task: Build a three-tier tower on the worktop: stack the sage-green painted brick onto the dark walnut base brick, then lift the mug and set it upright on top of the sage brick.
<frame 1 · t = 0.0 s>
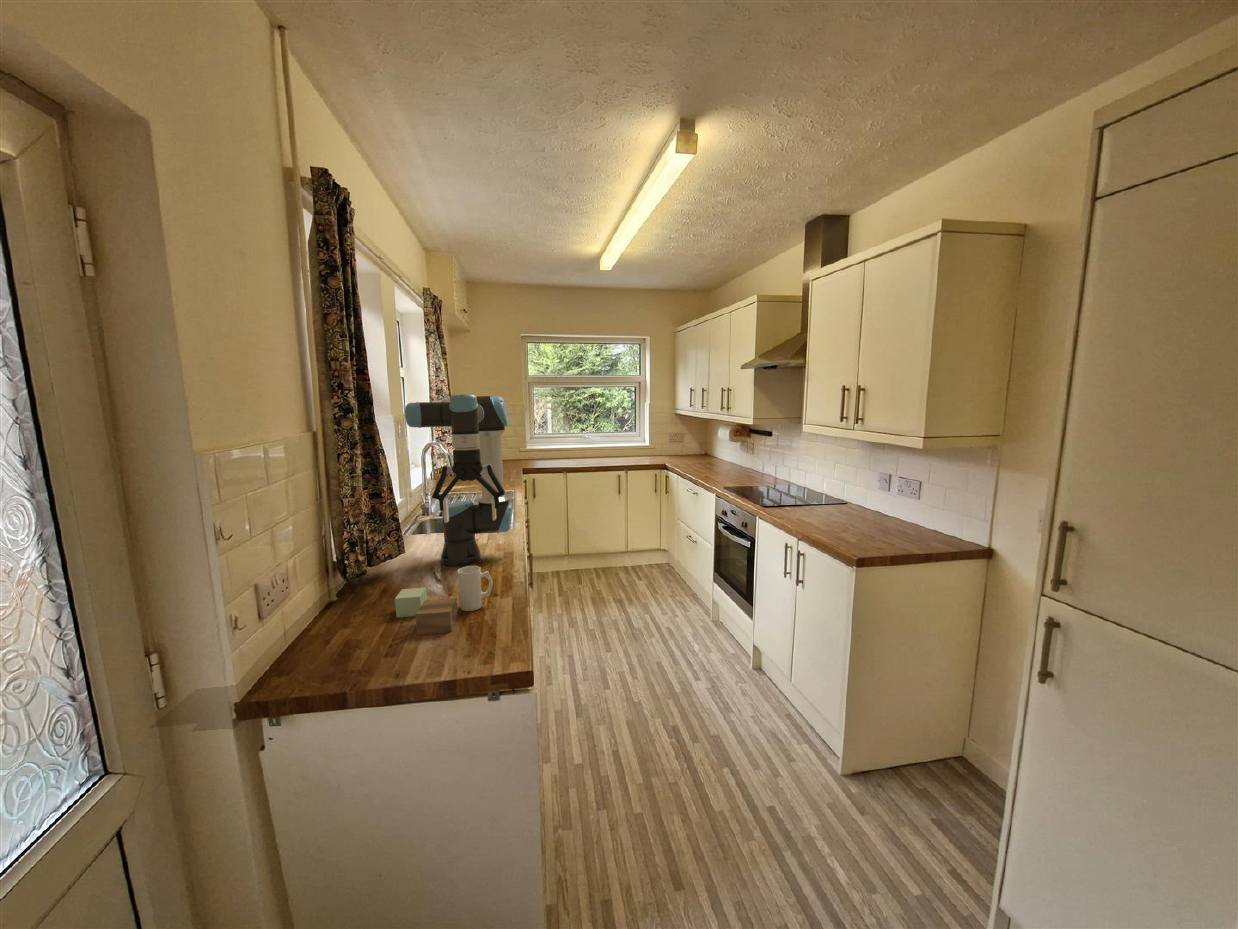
hand: (470, 520, 139), 28 cm above the worktop, fingers open, 13 cm apart
base brick: (438, 626, 134), on the worktop
sage brick: (412, 611, 143), on the worktop
mug: (477, 607, 146), on the worktop
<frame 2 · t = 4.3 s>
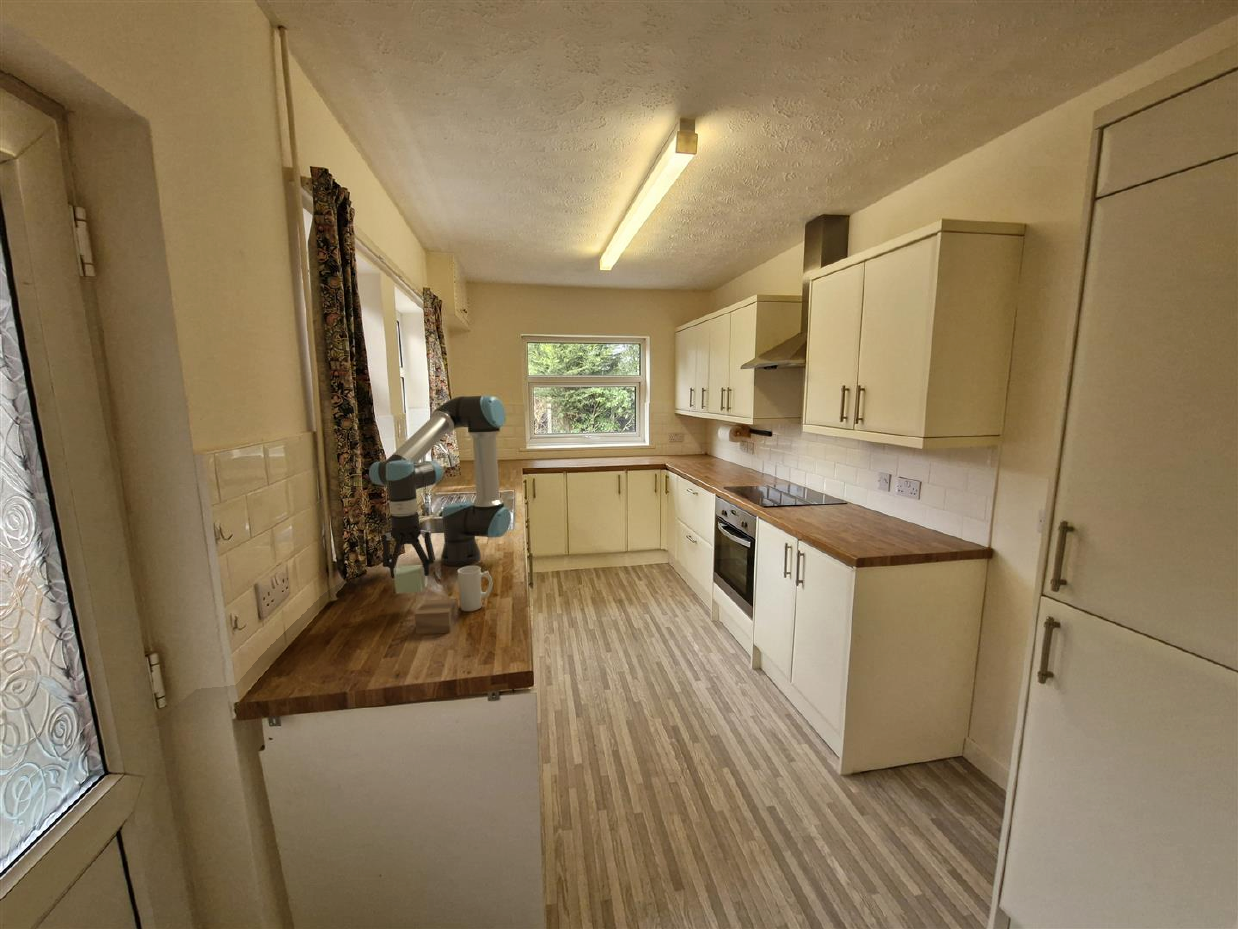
hand: (411, 586, 143), 8 cm above the worktop, fingers closed on sage brick, 7 cm apart
sage brick: (411, 588, 143), point 7 cm above the worktop, touching gripper
everything else where it was.
when the fingers open (6 cm above the worktop, at t = 7.6 s): sage brick stays where it is, resting on base brick.
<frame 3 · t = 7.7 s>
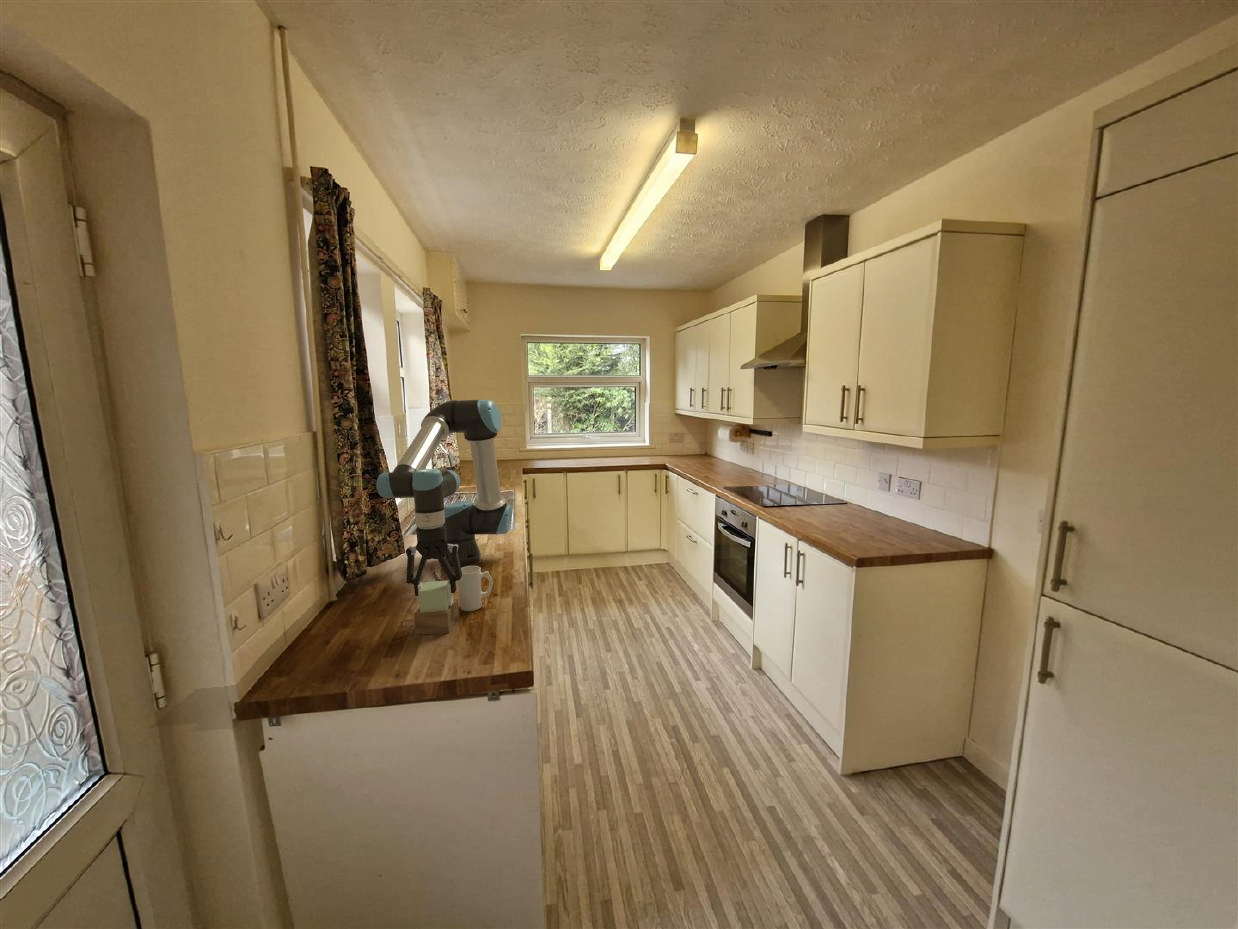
hand: (436, 604, 133), 6 cm above the worktop, fingers open, 7 cm apart
base brick: (438, 626, 134), on the worktop, touching sage brick
sage brick: (436, 606, 133), point 6 cm above the worktop, touching base brick
everything else where it was.
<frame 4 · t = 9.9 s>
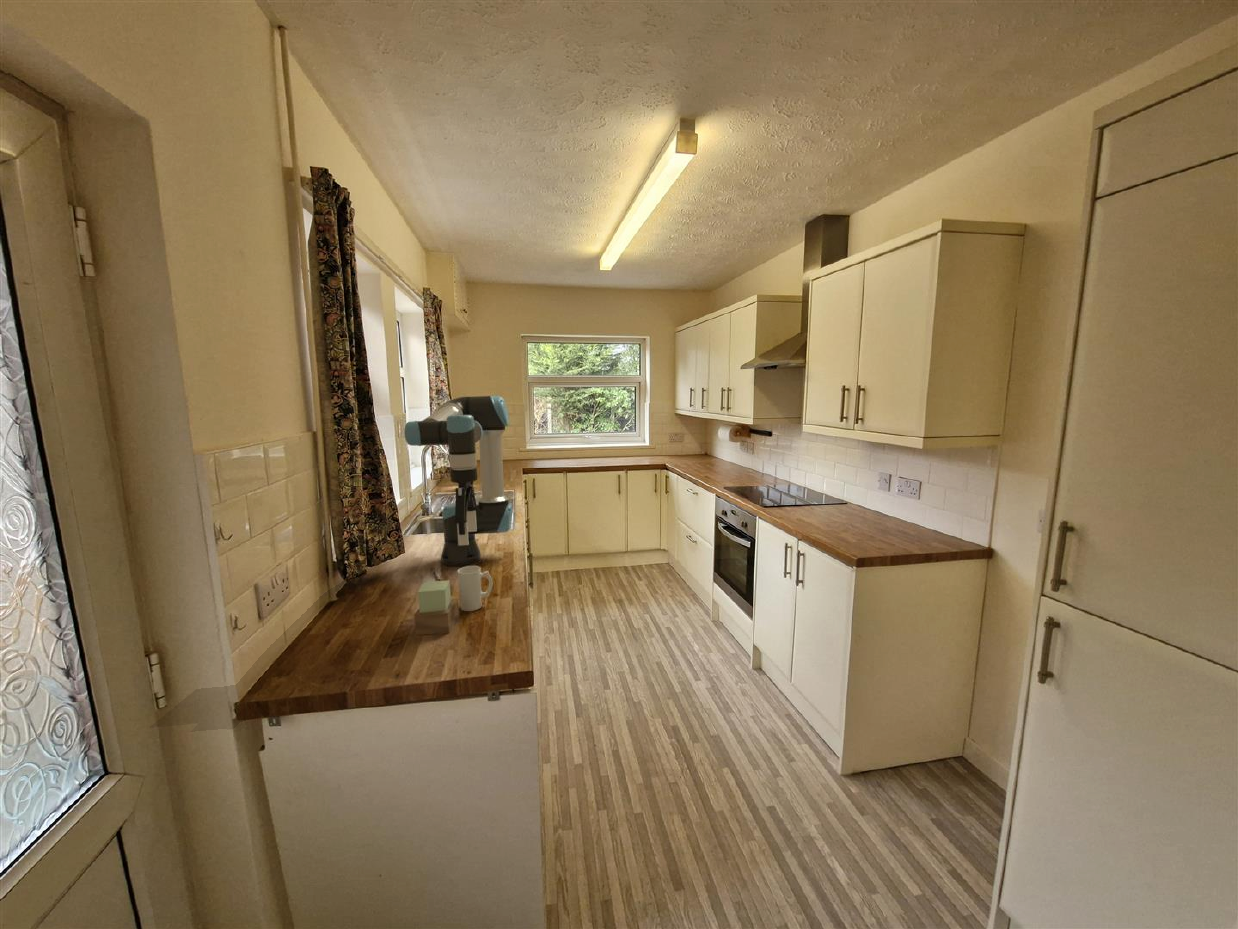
hand: (468, 538, 142), 22 cm above the worktop, fingers open, 13 cm apart
nothing on the worktop moved.
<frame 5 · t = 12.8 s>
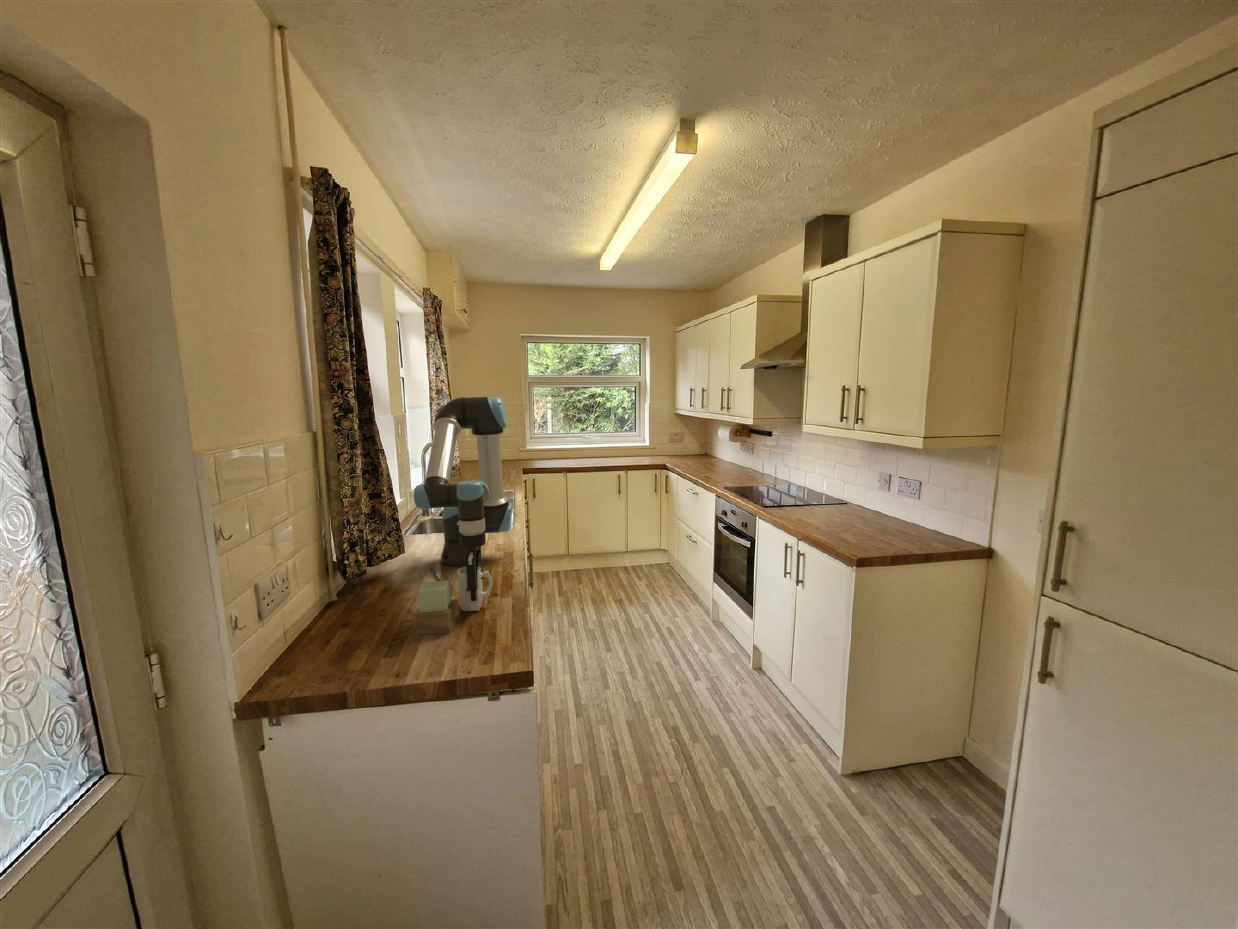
hand: (476, 604, 146), 1 cm above the worktop, fingers closed on mug, 6 cm apart
mug: (477, 607, 146), on the worktop, touching gripper
everything else where it was.
when the fingers open (14 cm above the worktop, at t = 17.8 s): mug drops 2 cm, resting on sage brick.
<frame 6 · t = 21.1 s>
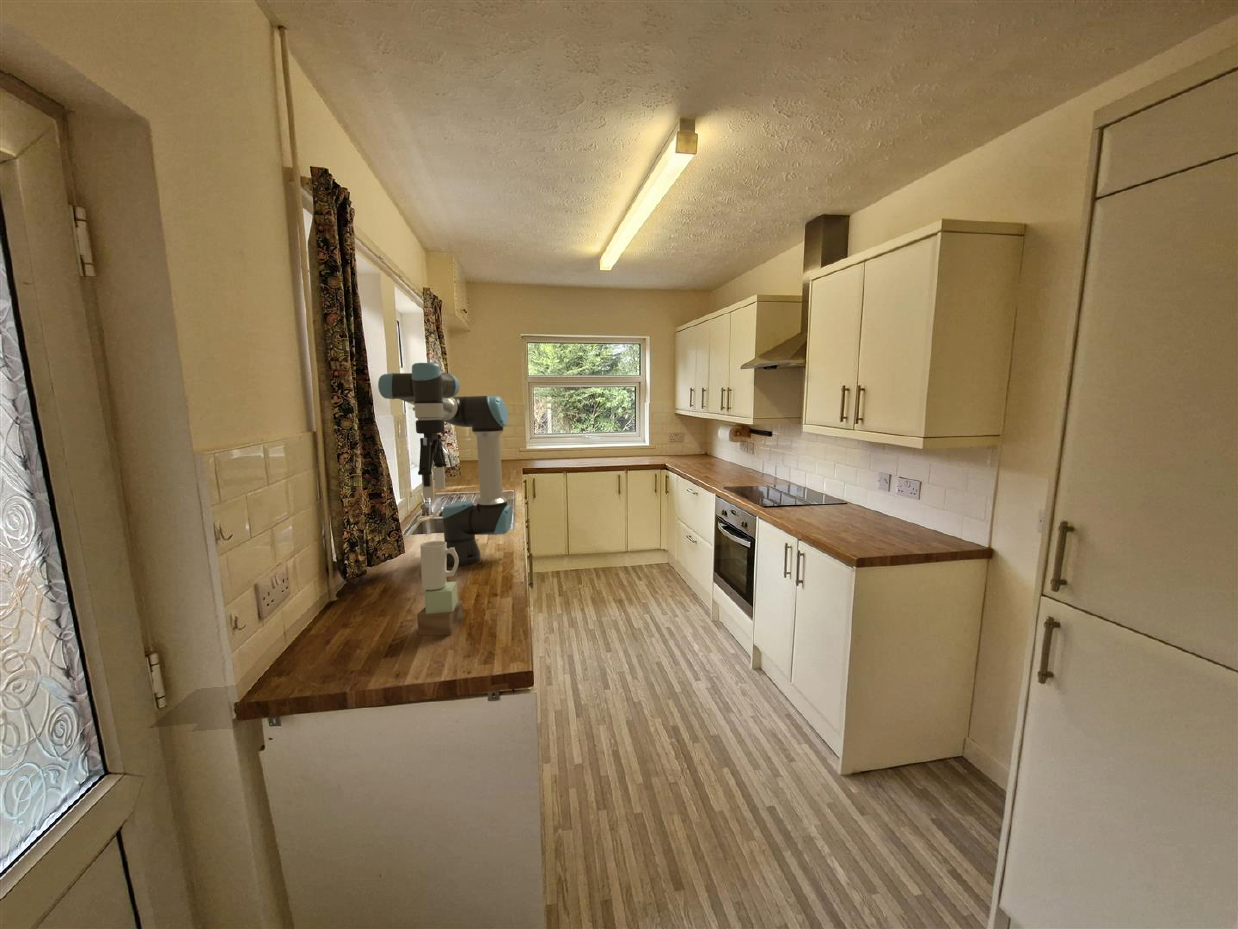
hand: (435, 493, 136), 37 cm above the worktop, fingers open, 13 cm apart
base brick: (442, 627, 133), on the worktop
sage brick: (442, 607, 132), point 6 cm above the worktop, touching mug
mug: (440, 587, 131), point 12 cm above the worktop, touching sage brick
at the end: sage brick 0.6 cm off-centre on the base brick, point 6.0 cm above the base brick's base; mug 0.4 cm from the base brick (horizontally); mug point 11.8 cm above the worktop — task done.
